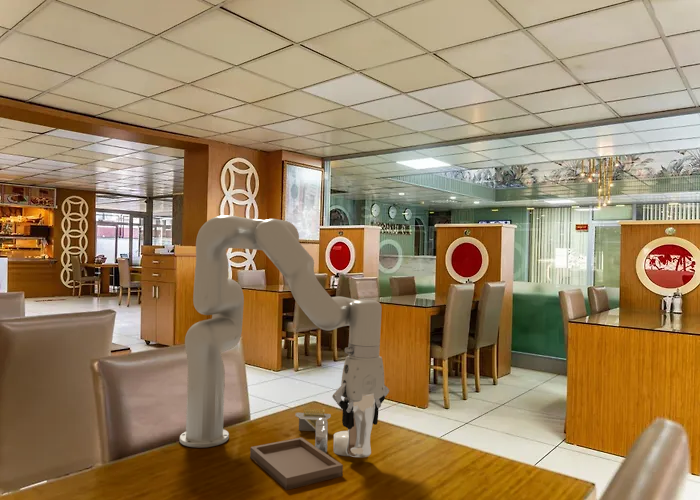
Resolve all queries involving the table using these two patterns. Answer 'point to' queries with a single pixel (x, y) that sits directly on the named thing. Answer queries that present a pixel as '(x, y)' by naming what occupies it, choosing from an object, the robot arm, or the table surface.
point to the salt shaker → (321, 434)
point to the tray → (295, 463)
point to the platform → (310, 419)
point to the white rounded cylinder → (341, 443)
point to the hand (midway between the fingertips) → (360, 424)
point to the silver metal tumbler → (361, 427)
